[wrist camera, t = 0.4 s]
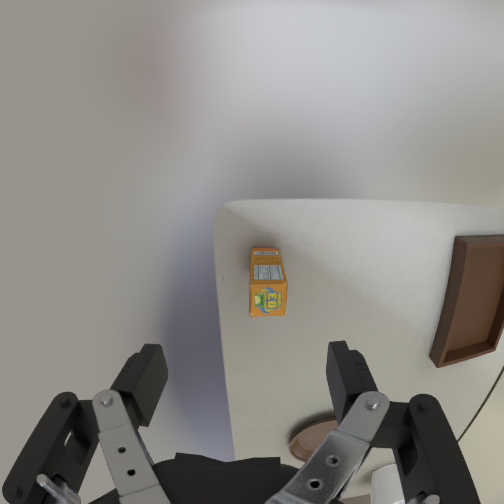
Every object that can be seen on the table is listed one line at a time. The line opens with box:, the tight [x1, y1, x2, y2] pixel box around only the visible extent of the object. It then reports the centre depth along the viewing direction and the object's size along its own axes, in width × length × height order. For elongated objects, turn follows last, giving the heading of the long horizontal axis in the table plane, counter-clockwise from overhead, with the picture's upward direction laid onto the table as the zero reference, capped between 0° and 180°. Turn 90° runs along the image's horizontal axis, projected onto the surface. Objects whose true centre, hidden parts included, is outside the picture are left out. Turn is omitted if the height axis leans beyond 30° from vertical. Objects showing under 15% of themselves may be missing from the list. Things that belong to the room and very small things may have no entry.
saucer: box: [289, 417, 338, 462], centre depth 42 cm, size 15×15×3 cm
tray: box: [429, 235, 504, 368], centre depth 32 cm, size 20×14×3 cm
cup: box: [371, 464, 405, 504], centre depth 43 cm, size 12×12×12 cm
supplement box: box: [249, 248, 288, 317], centre depth 28 cm, size 3×3×10 cm
